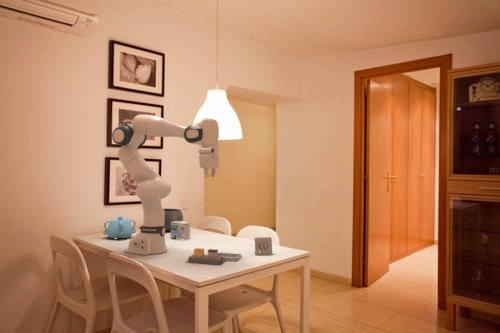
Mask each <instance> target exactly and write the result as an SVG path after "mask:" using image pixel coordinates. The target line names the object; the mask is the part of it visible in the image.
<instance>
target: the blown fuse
mask: <svg viewBox="0 0 500 333" xmlns="http://www.w3.org/2000/svg"><path fill="white" fill-rule="evenodd" d="M218 253H219V249H216V248H215V249H212V248H209V249H207V255H208V258H218Z"/></svg>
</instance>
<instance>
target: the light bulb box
mask: <svg viewBox="0 0 500 333" xmlns="http://www.w3.org/2000/svg"><path fill="white" fill-rule="evenodd" d="M190 232H191V222H190V221H184V220H183V221H174V222H171V231H170V236H169V237H170V238H177V239H176V240H178V239H184V240H183V241H186V240H189V239H190V238H191V236H190V235H191V234H190ZM188 238H189V239H188ZM185 239H186V240H185Z"/></svg>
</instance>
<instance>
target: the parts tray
mask: <svg viewBox="0 0 500 333" xmlns="http://www.w3.org/2000/svg"><path fill="white" fill-rule="evenodd" d="M218 256H223V261H226V262H232V263H233V262H235V263H236V262H238V261H239V260H240V259H242V257H243V256H242V254H241V253H233V252H219V251H218Z"/></svg>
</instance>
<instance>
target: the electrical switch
mask: <svg viewBox="0 0 500 333" xmlns="http://www.w3.org/2000/svg"><path fill="white" fill-rule="evenodd" d="M254 255H255V256H272V255H273V240H272V237H268V236H267V237H263V236H261V237H260V236H259V237H254Z"/></svg>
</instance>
